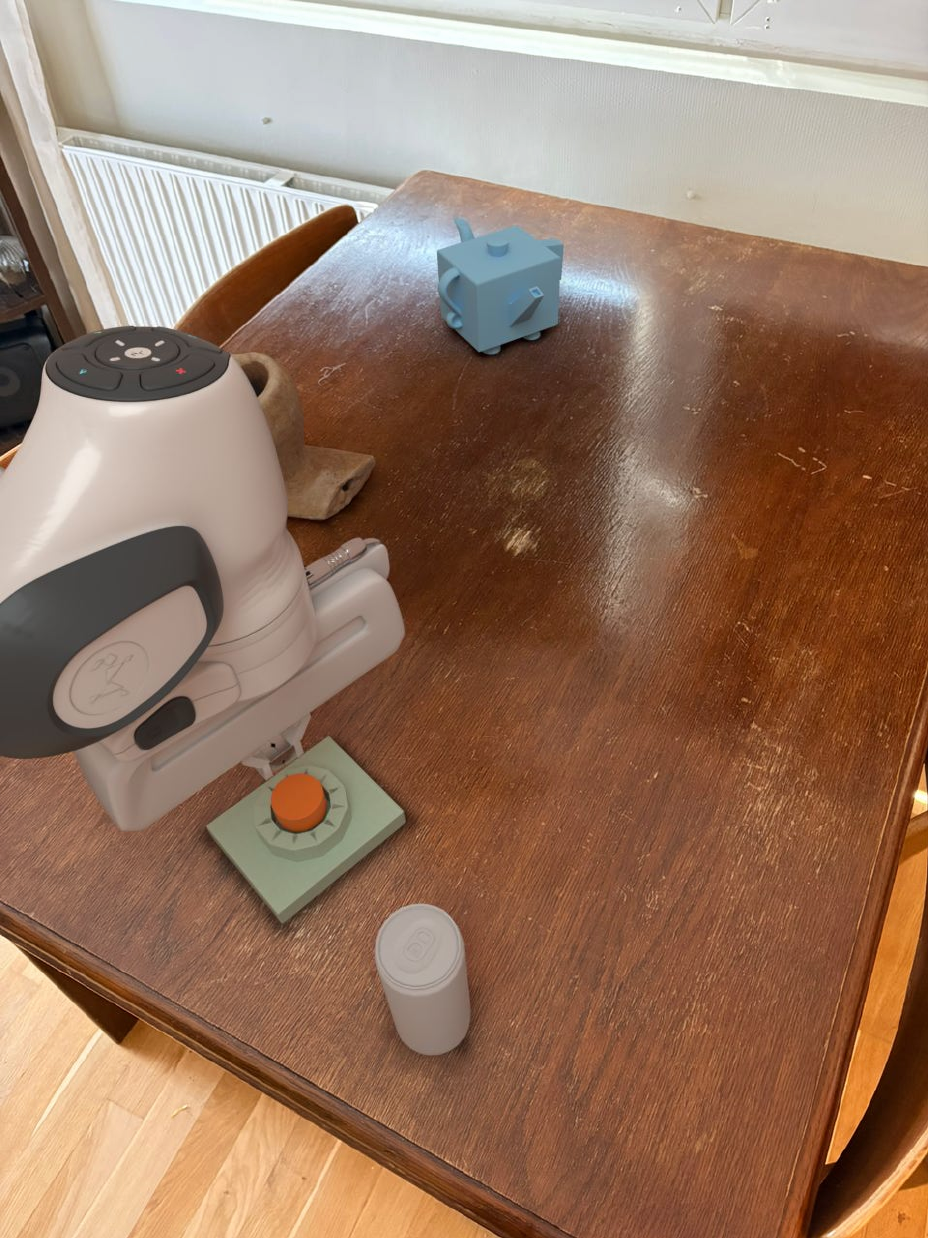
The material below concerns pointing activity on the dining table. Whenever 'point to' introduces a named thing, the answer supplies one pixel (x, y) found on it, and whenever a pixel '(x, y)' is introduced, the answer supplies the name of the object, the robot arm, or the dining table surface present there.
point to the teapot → (499, 286)
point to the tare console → (307, 831)
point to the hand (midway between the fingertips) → (278, 760)
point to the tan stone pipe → (302, 446)
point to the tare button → (299, 802)
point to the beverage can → (424, 977)
